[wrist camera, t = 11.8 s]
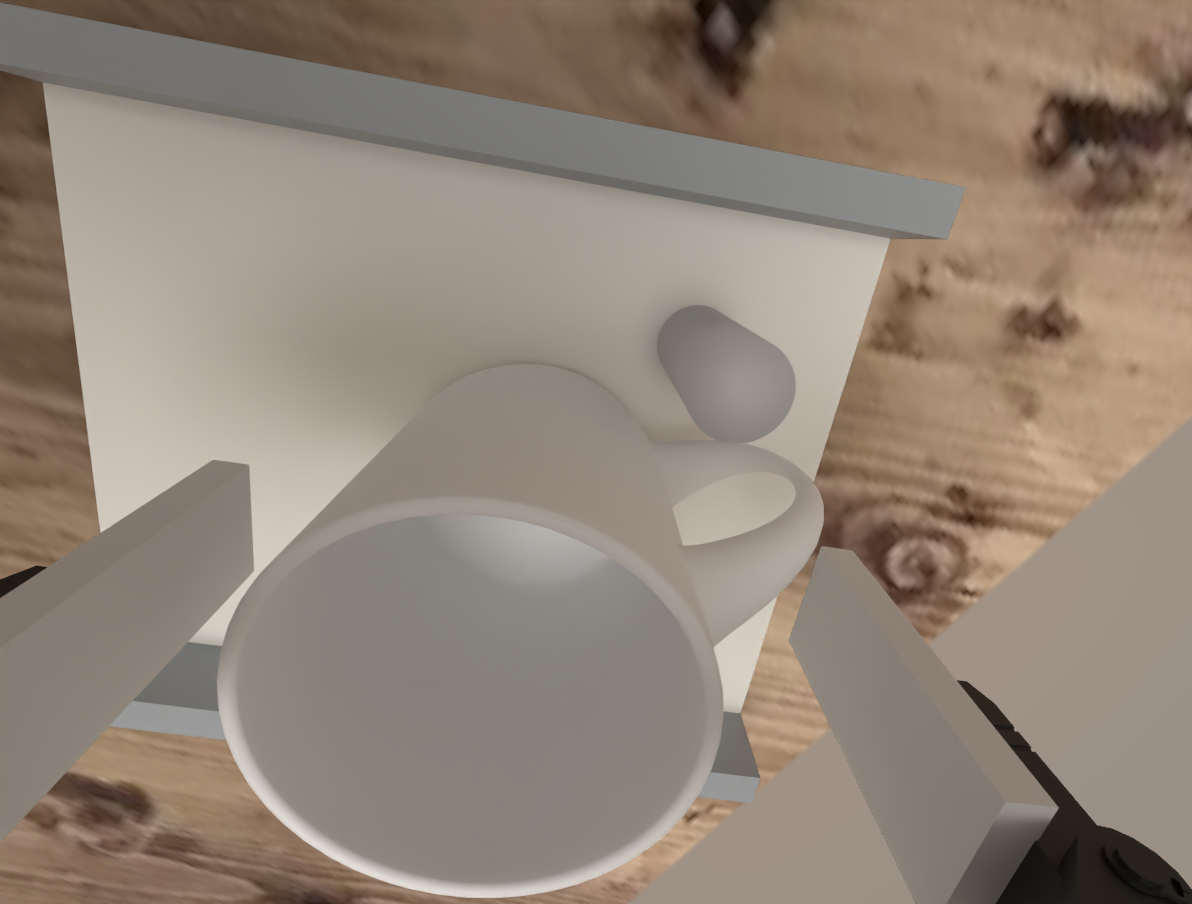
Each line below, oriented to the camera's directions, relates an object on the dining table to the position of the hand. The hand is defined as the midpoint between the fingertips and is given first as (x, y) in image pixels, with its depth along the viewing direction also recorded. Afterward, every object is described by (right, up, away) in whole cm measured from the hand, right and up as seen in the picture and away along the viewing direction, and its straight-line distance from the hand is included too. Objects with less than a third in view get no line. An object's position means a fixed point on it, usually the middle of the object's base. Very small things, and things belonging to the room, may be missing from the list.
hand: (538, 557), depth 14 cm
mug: (+1, +2, +6) cm, 7 cm away
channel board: (-3, +3, +7) cm, 8 cm away
